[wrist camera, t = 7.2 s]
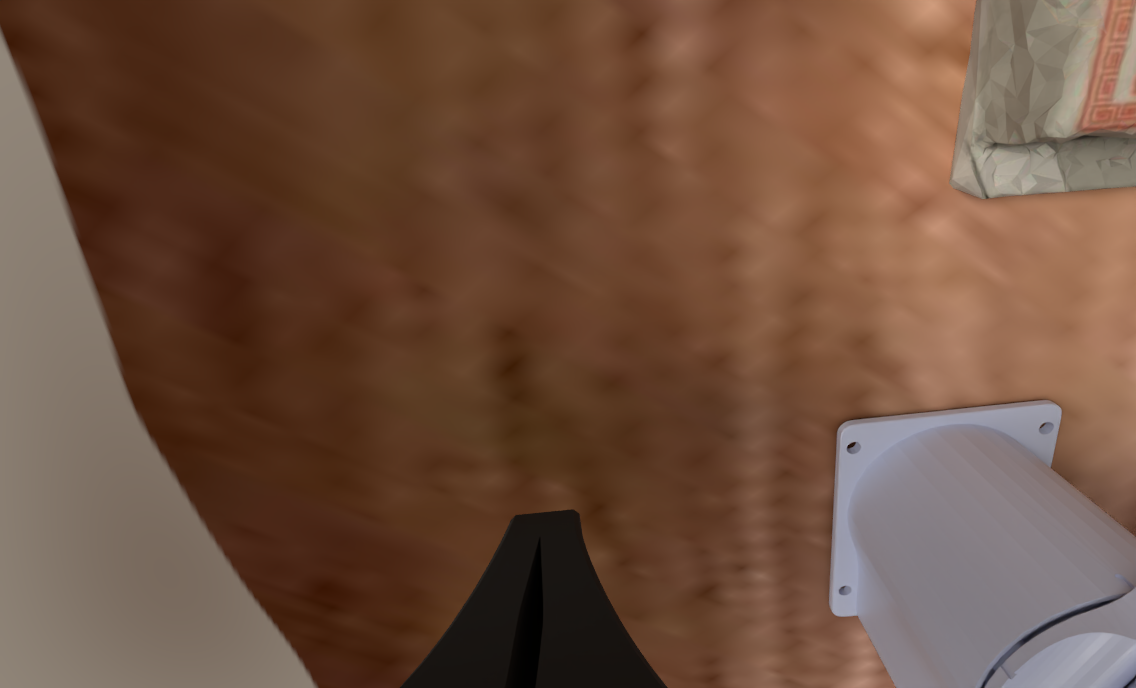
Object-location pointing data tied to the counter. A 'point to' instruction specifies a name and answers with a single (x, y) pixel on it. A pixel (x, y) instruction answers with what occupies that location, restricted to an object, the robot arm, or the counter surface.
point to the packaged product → (1048, 98)
